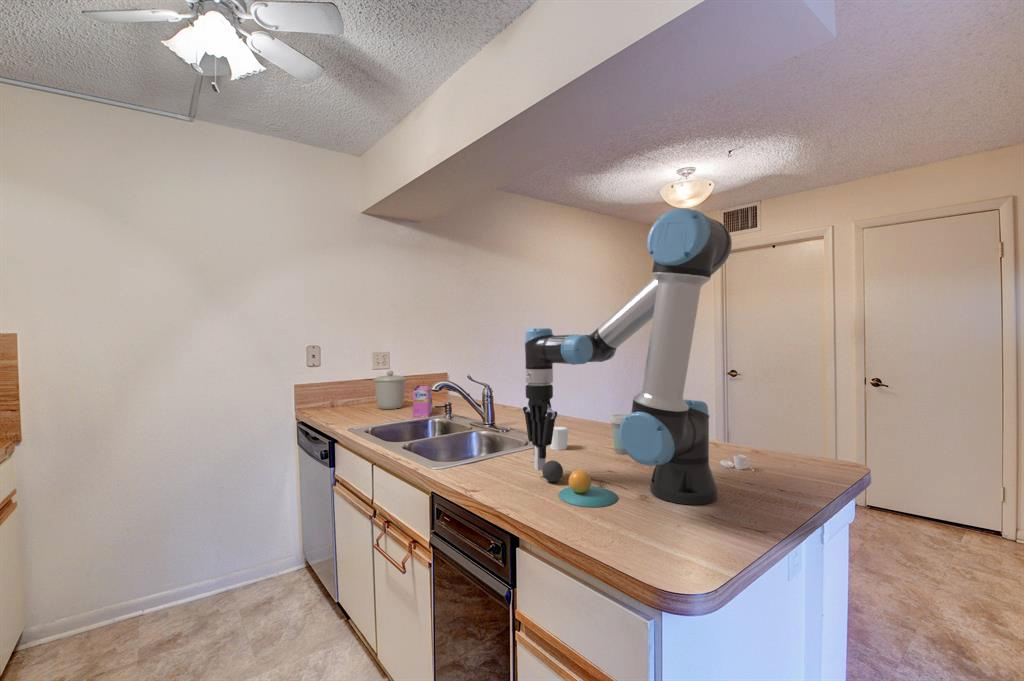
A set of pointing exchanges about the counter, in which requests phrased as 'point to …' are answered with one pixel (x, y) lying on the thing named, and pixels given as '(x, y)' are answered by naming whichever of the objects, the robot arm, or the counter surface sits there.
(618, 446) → the coffee cup
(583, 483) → the orange ball
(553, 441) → the white tapered cylinder
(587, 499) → the teal mark
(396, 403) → the canister
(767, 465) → the counter surface
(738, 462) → the teacup and saucer
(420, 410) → the gum box
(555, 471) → the dark gray ball
